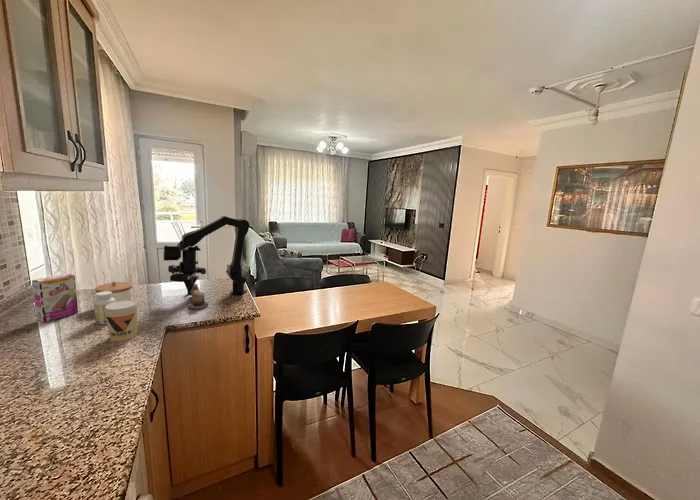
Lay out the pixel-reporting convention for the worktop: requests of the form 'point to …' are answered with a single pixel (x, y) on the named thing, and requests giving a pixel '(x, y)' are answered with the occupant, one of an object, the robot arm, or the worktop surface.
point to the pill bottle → (102, 305)
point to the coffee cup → (121, 319)
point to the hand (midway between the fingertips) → (189, 291)
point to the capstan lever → (197, 296)
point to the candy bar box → (55, 297)
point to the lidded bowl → (117, 290)
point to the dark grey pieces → (198, 307)
